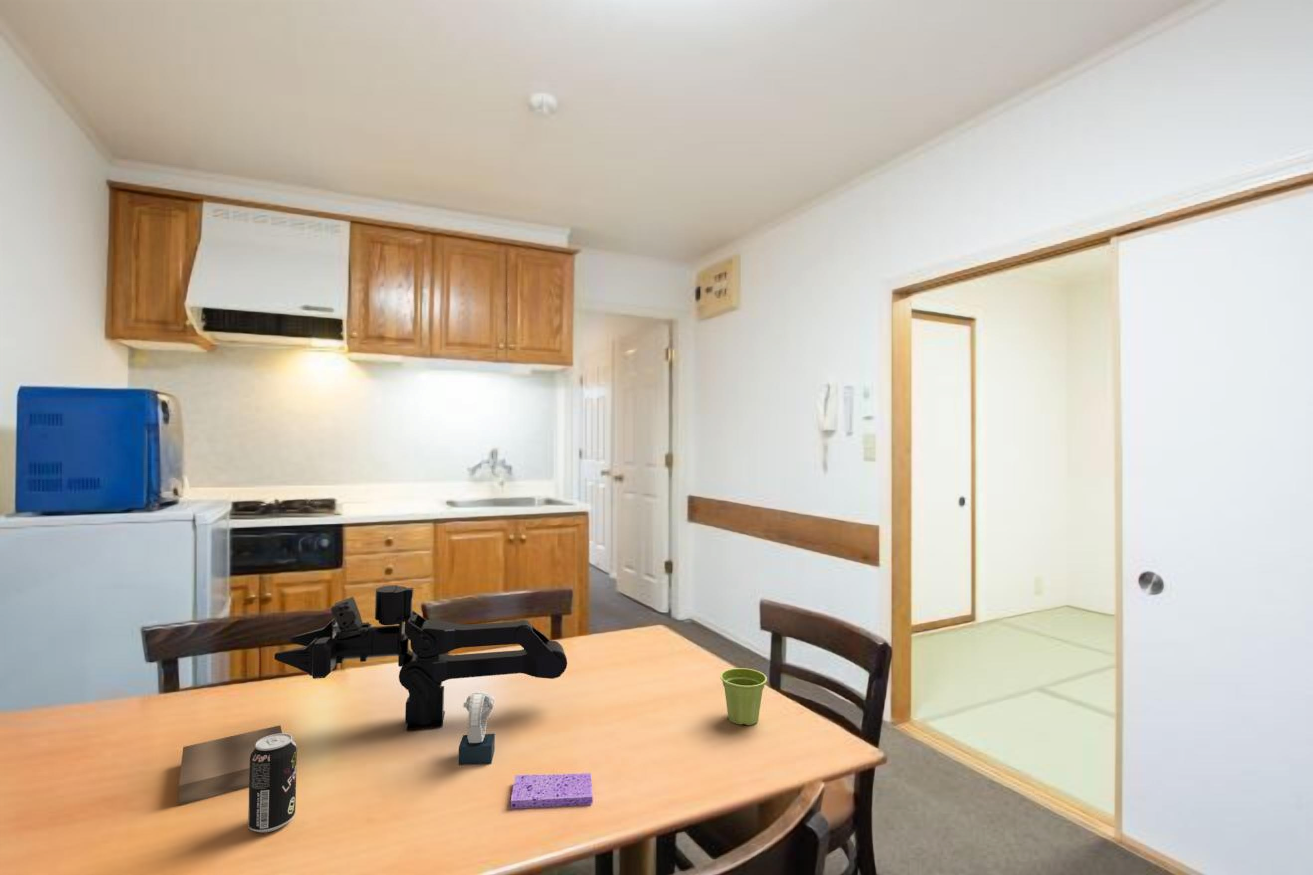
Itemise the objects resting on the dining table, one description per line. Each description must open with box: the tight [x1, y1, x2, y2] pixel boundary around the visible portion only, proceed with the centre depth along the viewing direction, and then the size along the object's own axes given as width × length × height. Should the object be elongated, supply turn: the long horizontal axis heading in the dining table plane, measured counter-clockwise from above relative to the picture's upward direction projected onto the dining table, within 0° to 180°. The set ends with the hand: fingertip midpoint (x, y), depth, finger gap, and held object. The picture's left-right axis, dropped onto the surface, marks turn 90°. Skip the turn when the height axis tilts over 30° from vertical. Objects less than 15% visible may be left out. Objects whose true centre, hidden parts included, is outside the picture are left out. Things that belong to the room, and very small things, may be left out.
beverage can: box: [247, 732, 298, 834], centre depth 86 cm, size 6×6×12 cm
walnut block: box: [177, 724, 283, 807], centre depth 100 cm, size 14×14×3 cm
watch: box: [457, 691, 496, 766], centre depth 105 cm, size 6×8×11 cm
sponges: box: [510, 772, 594, 810], centre depth 95 cm, size 7×13×2 cm, turn 97°
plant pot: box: [719, 667, 768, 726], centre depth 122 cm, size 9×9×9 cm
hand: (283, 647), depth 111 cm, fingers open, 9 cm apart
